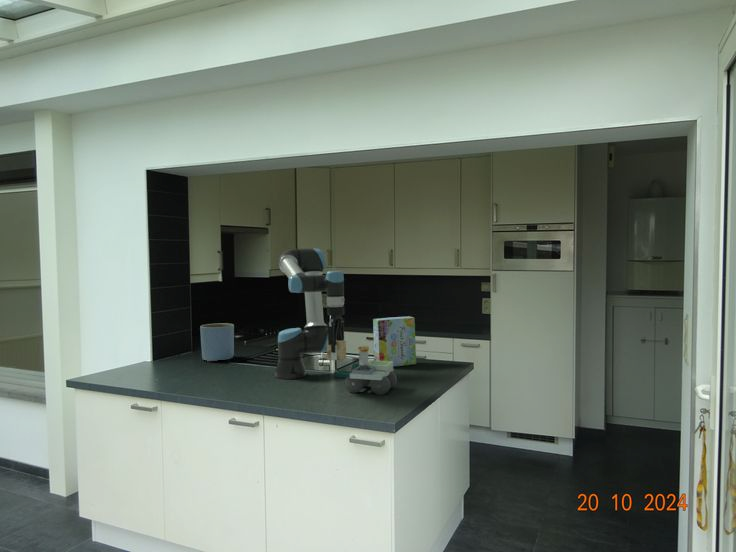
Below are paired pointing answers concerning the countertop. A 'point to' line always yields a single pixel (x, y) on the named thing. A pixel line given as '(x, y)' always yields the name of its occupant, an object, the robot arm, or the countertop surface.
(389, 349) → the snack box
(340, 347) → the chock
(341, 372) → the bracket
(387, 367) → the tray
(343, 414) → the countertop surface
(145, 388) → the countertop surface
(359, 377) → the cart
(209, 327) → the planter
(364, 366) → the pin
